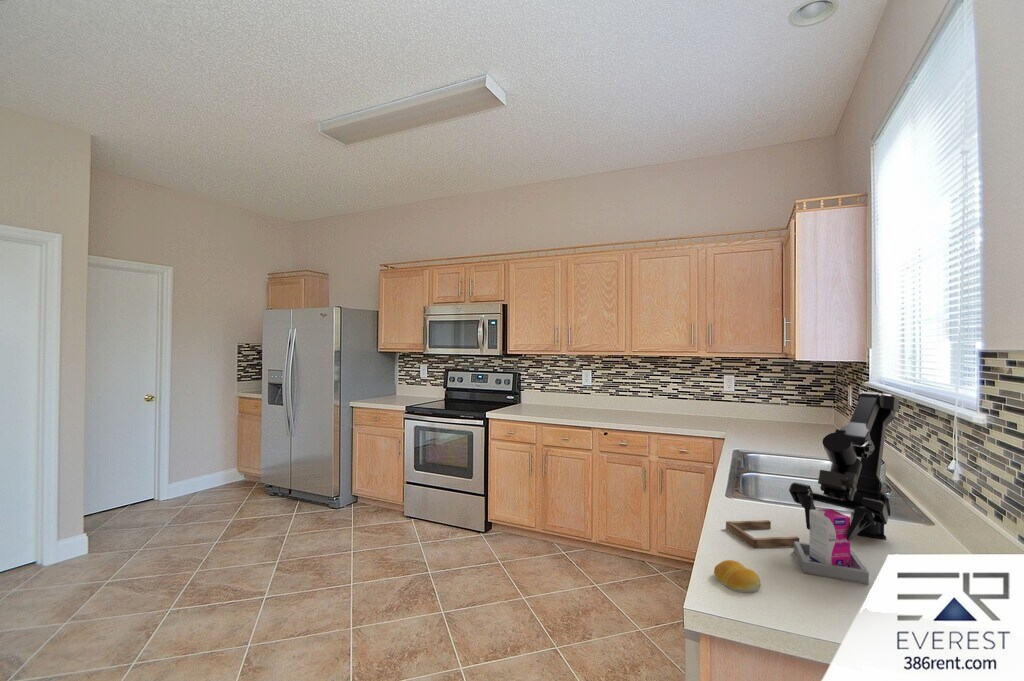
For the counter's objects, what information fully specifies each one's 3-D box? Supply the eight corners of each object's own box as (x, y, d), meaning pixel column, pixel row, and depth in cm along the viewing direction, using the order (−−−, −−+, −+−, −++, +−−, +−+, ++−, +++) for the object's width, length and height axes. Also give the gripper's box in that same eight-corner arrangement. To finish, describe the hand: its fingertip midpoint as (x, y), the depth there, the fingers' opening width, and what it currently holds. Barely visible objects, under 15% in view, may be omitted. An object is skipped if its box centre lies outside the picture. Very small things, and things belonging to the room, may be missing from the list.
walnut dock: (768, 527, 131) (768, 520, 131) (799, 546, 119) (799, 538, 119) (725, 528, 130) (725, 521, 130) (753, 547, 118) (753, 539, 118)
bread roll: (740, 597, 95) (740, 578, 95) (707, 576, 103) (707, 558, 103) (770, 590, 98) (771, 571, 98) (736, 570, 106) (736, 553, 106)
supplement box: (828, 569, 105) (827, 517, 105) (808, 558, 111) (807, 509, 111) (852, 568, 106) (850, 516, 106) (831, 556, 112) (830, 507, 112)
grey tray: (852, 560, 112) (852, 550, 112) (868, 584, 100) (868, 572, 101) (794, 551, 116) (794, 541, 116) (803, 573, 105) (803, 561, 105)
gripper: (792, 449, 118) (773, 503, 111) (885, 465, 104) (870, 528, 97) (803, 475, 123) (786, 528, 116) (894, 493, 109) (880, 555, 102)
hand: (827, 534), depth 108 cm, fingers closed on supplement box, 7 cm apart
